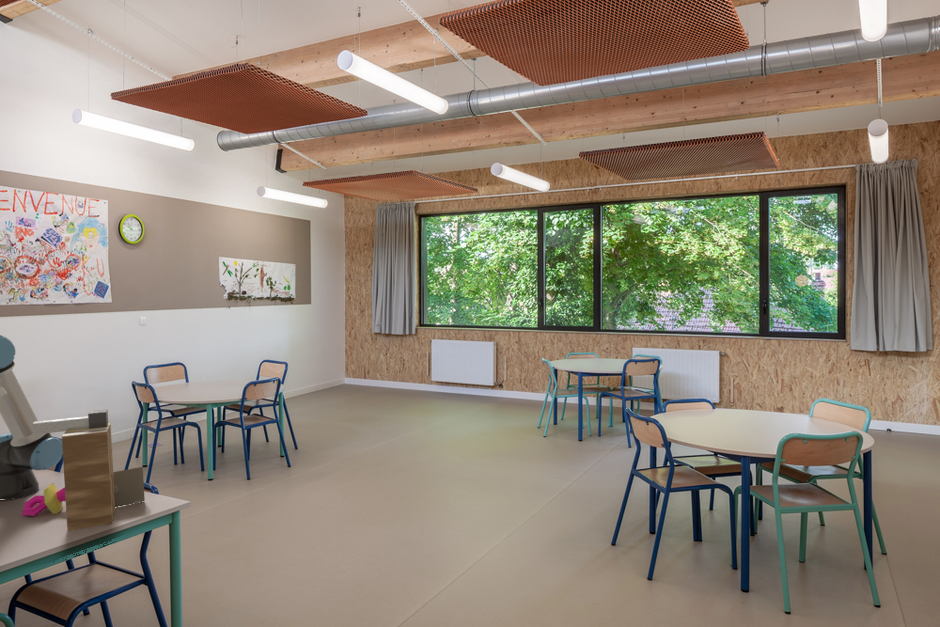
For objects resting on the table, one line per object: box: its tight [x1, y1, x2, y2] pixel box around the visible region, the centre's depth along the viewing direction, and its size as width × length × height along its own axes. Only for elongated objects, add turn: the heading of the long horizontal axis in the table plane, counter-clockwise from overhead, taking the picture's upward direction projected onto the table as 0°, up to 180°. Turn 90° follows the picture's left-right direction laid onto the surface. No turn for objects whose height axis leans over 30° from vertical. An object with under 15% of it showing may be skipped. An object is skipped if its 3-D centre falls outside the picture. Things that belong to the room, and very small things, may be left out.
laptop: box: [113, 466, 145, 507], centre depth 209 cm, size 18×12×13 cm
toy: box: [21, 482, 66, 517], centre depth 203 cm, size 10×18×10 cm
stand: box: [61, 422, 116, 532], centre depth 193 cm, size 13×12×30 cm
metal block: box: [33, 409, 109, 435], centre depth 192 cm, size 5×20×5 cm, turn 117°
